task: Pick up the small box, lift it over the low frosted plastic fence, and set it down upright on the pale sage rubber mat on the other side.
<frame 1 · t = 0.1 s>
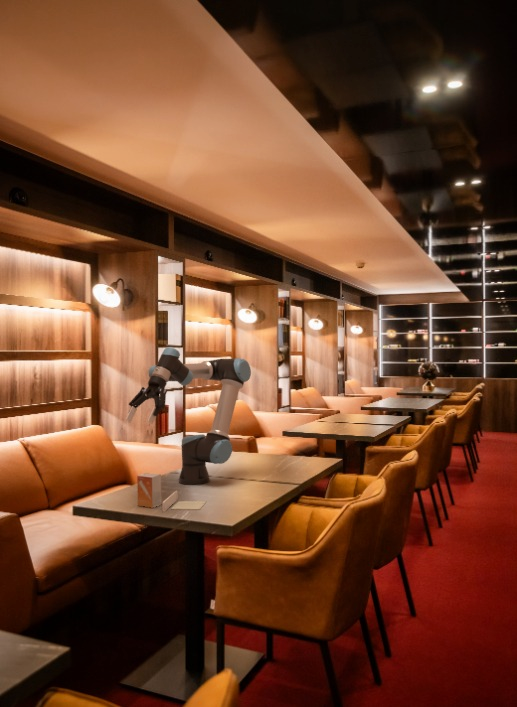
hand: (138, 421, 248), 36 cm above the table, tool tilted 35°, fingers open, 13 cm apart
fence: (170, 505, 249), on the table
mat: (188, 505, 248), on the table
small box: (149, 506, 250), on the table
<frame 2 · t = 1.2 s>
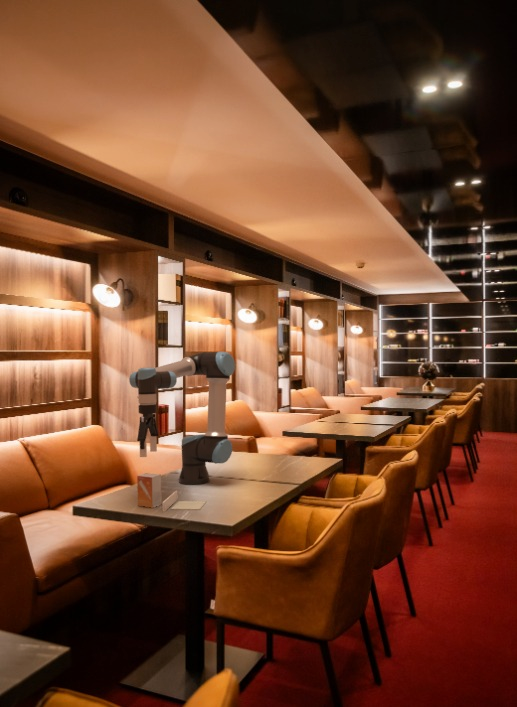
hand: (148, 454, 250), 22 cm above the table, tool pointing down, fingers open, 13 cm apart
nothing on the table moved.
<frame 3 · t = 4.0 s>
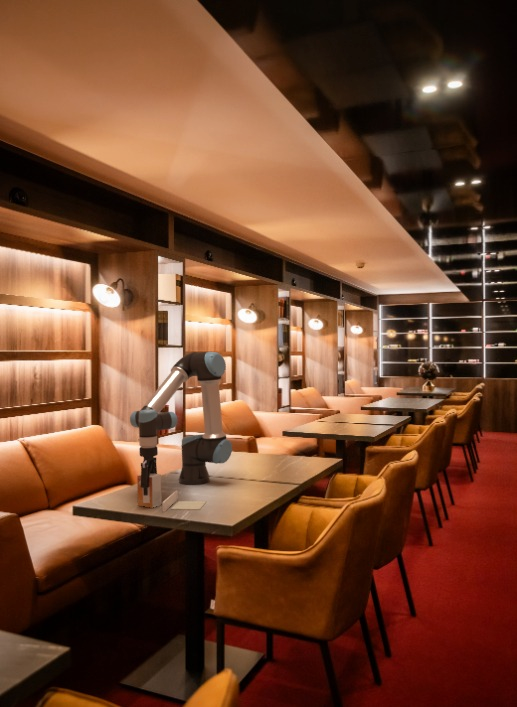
hand: (149, 500, 250), 2 cm above the table, tool pointing down, fingers closed on small box, 8 cm apart
small box: (149, 506, 250), on the table, touching gripper
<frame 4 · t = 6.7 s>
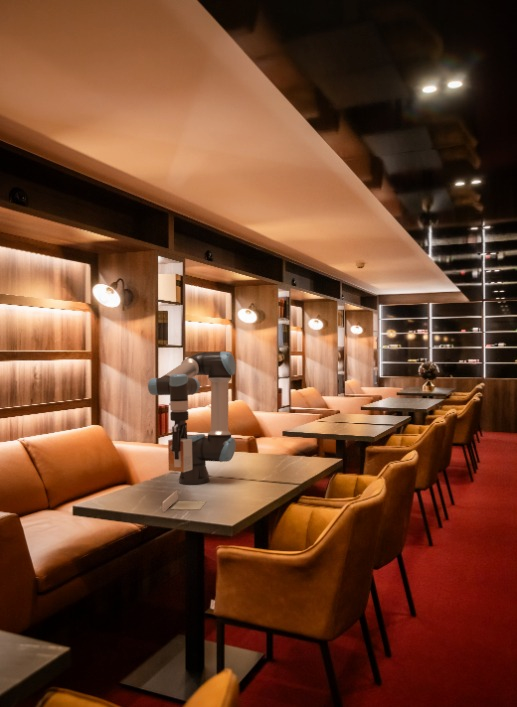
hand: (180, 465, 248), 17 cm above the table, tool pointing down, fingers closed on small box, 8 cm apart
small box: (180, 470, 248), point 15 cm above the table, touching gripper
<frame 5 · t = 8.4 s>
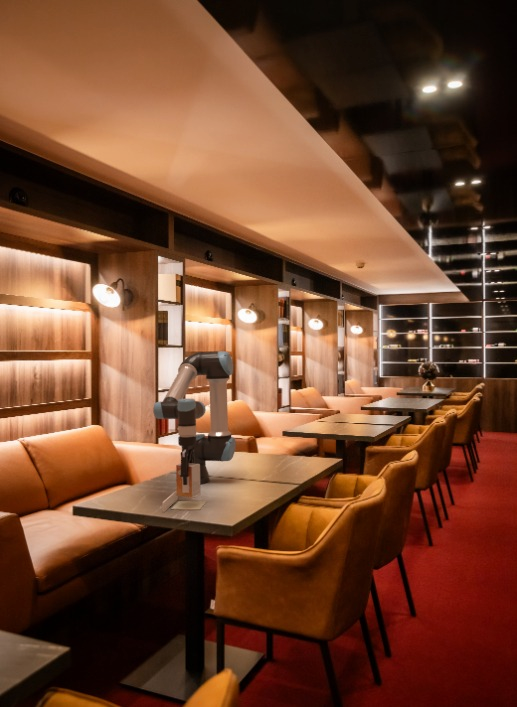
hand: (188, 490, 248), 7 cm above the table, tool pointing down, fingers closed on small box, 8 cm apart
small box: (188, 495, 248), point 4 cm above the table, touching gripper
when the fingers open (4 cm above the table, at t = 9.7 s): small box drops 1 cm, resting on mat.
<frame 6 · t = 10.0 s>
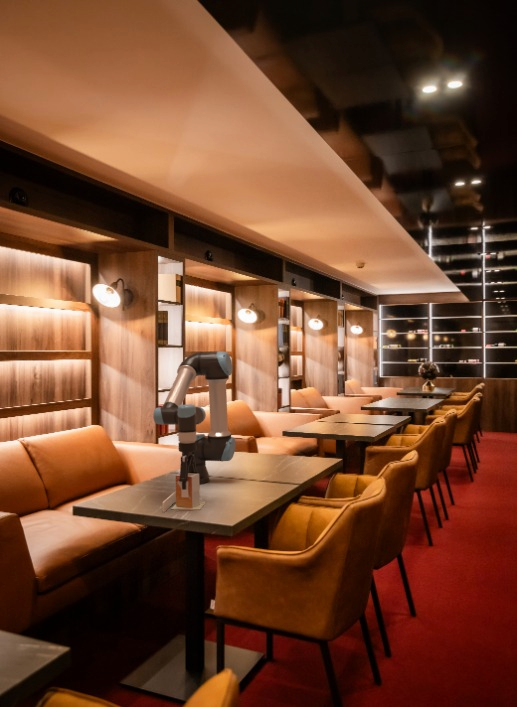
hand: (188, 493, 248), 5 cm above the table, tool pointing down, fingers open, 11 cm apart
small box: (188, 505, 247), resting on mat
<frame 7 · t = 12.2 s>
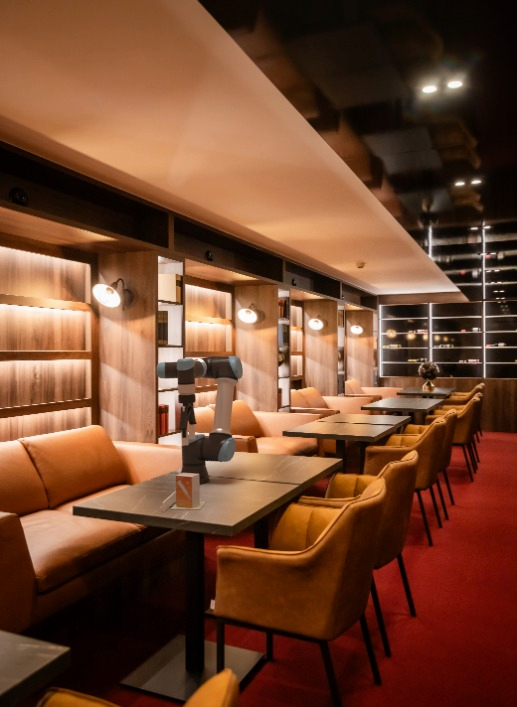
hand: (188, 442, 259), 25 cm above the table, tool pointing down, fingers open, 13 cm apart
nothing on the table moved.
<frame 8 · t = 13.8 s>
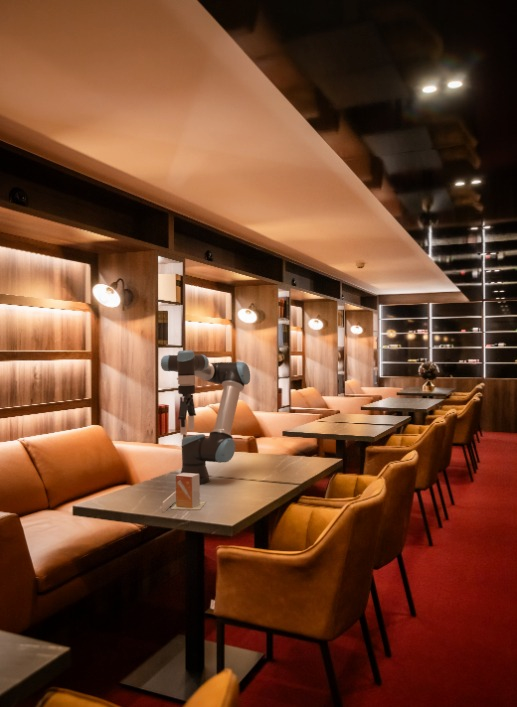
hand: (187, 432, 264), 29 cm above the table, tool pointing down, fingers open, 13 cm apart
nothing on the table moved.
at the end: small box inside the target area (0.9 cm from its centre), resting on mat; small box tilted 0°; the gripper is holding nothing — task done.
